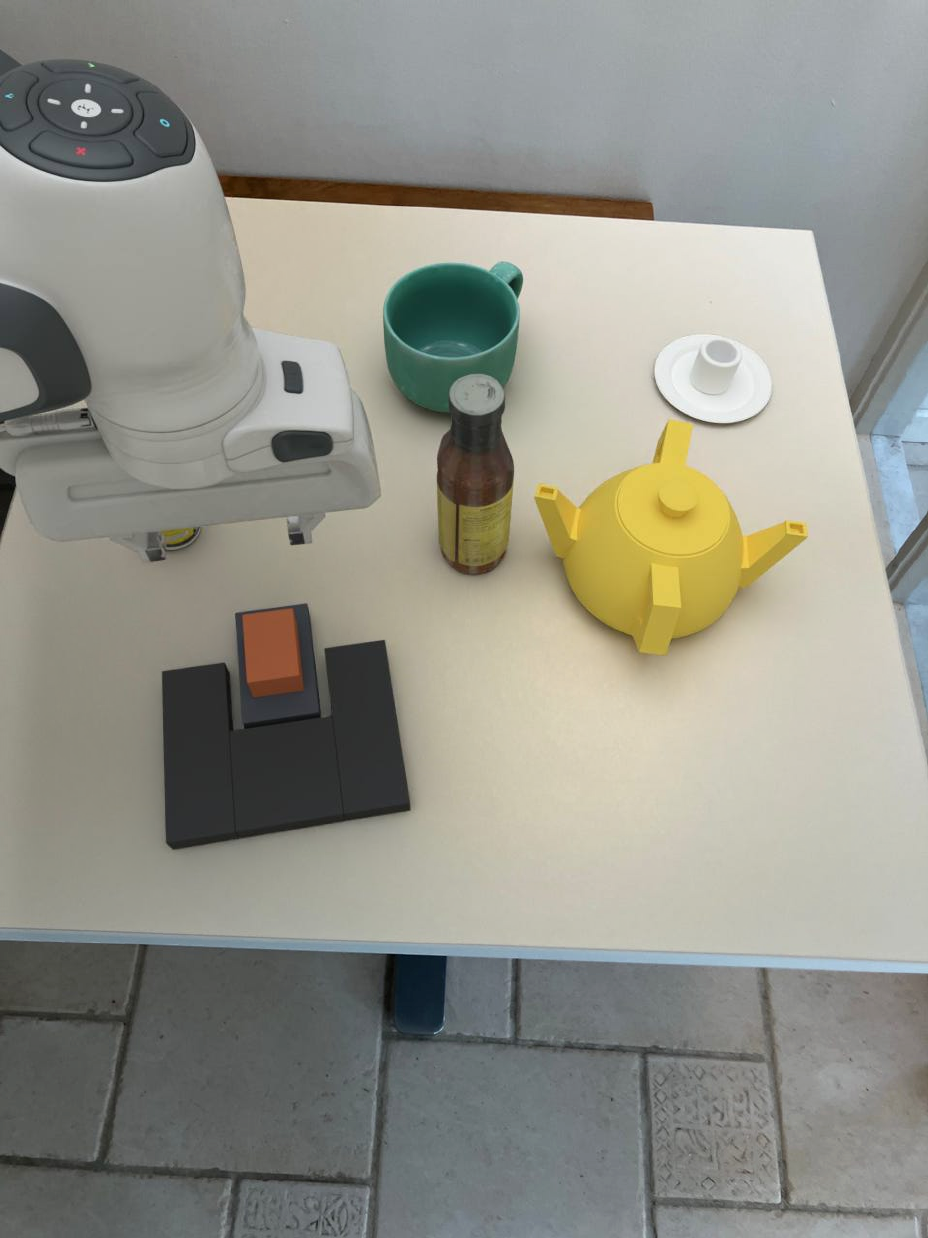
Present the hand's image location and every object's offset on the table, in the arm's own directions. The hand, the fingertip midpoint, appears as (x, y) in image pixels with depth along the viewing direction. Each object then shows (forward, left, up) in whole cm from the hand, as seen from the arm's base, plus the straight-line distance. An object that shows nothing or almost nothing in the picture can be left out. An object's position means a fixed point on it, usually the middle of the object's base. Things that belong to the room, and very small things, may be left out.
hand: (228, 544), depth 58 cm
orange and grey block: (+1, -1, -18) cm, 18 cm away
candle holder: (+47, +24, -18) cm, 56 cm away
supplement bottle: (-7, +14, -18) cm, 24 cm away
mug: (+22, +29, -18) cm, 41 cm away
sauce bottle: (+19, +8, -18) cm, 27 cm away
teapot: (+34, +3, -18) cm, 38 cm away
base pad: (+1, -8, -18) cm, 19 cm away
